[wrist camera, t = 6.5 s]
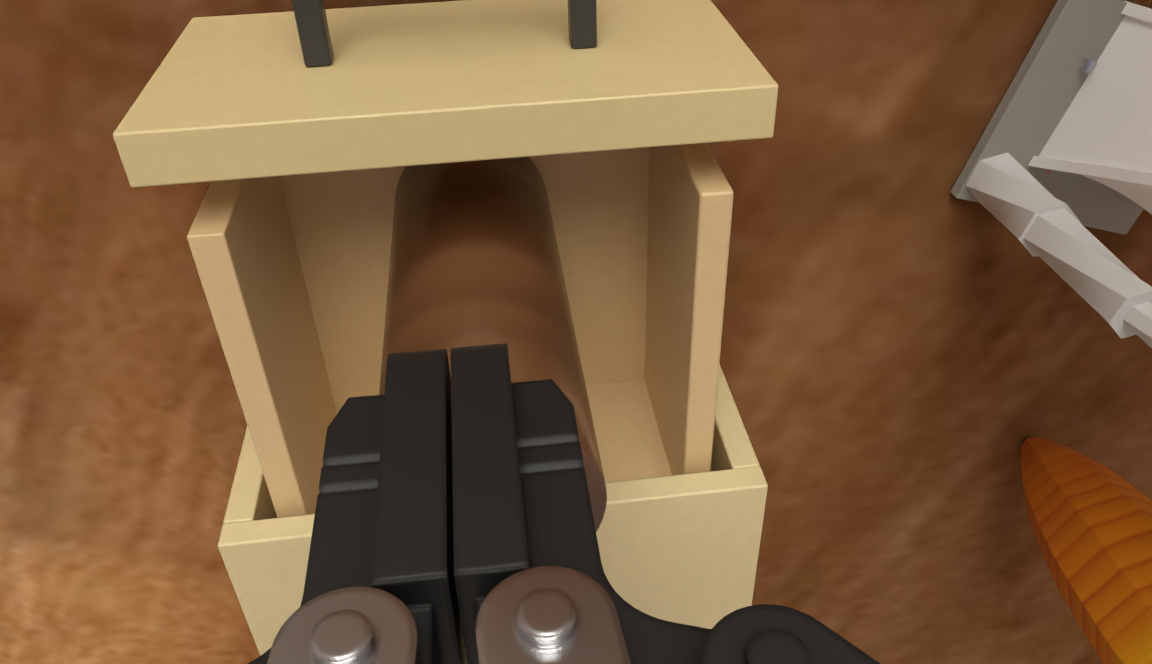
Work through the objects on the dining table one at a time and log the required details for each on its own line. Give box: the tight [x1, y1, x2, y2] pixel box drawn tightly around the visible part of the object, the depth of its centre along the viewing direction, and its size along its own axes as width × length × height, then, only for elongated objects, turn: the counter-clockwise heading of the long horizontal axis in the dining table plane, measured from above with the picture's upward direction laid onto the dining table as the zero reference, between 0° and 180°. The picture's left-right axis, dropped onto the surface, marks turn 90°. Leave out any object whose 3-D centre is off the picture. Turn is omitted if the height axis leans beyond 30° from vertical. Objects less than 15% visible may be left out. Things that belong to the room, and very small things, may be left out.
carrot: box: [1020, 437, 1152, 664], centre depth 32 cm, size 5×5×15 cm
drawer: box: [113, 0, 778, 518], centre depth 24 cm, size 18×13×7 cm
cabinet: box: [218, 364, 768, 656], centre depth 32 cm, size 15×15×9 cm
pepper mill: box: [379, 157, 607, 532], centre depth 22 cm, size 4×4×13 cm
